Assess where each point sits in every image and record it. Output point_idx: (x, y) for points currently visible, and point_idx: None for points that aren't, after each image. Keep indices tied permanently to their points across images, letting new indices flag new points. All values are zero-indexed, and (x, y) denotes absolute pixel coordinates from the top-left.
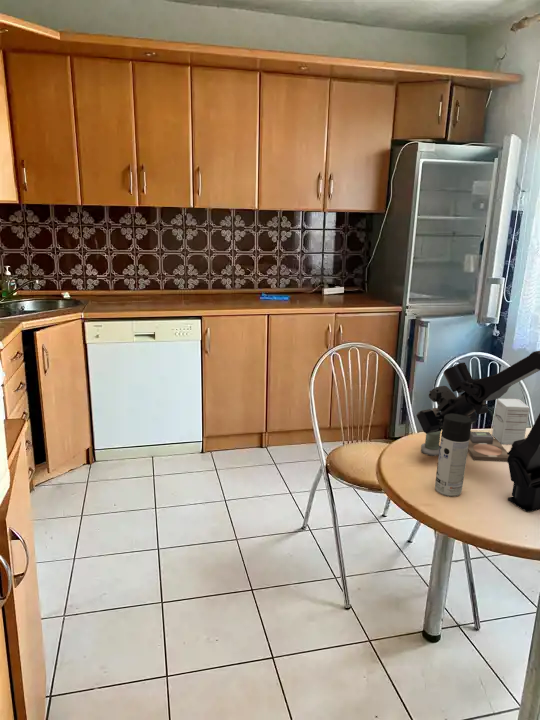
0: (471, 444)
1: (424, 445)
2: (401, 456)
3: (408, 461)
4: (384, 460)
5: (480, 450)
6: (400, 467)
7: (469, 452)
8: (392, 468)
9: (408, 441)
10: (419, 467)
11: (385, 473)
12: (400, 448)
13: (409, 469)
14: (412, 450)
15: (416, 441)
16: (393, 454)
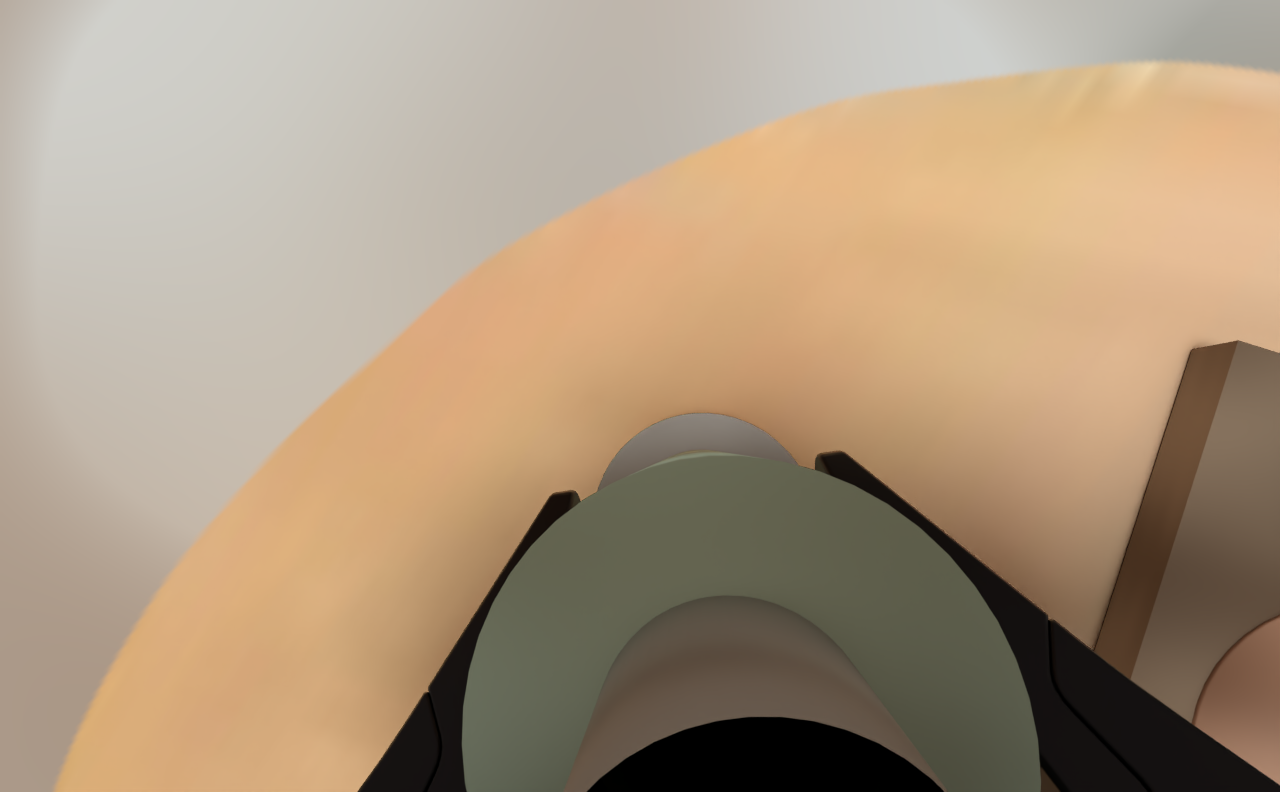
0: (1255, 573)
1: (649, 464)
2: (375, 521)
3: (374, 633)
4: (197, 548)
5: (1264, 773)
6: (242, 717)
7: None
8: (171, 710)
9: (625, 244)
10: None
11: (68, 774)
12: (463, 366)
13: (290, 781)
14: (544, 435)
15: (701, 261)
16: (334, 463)
